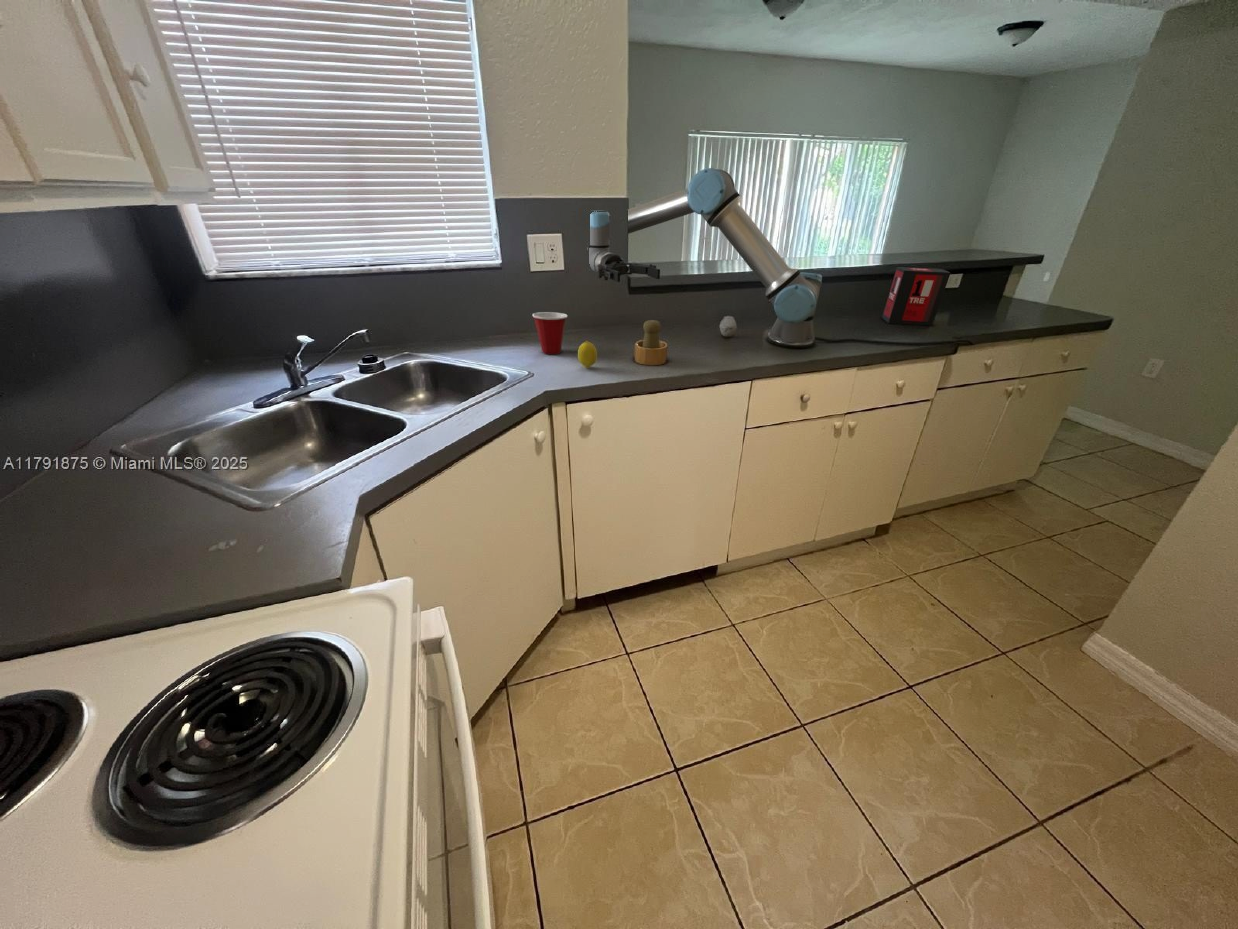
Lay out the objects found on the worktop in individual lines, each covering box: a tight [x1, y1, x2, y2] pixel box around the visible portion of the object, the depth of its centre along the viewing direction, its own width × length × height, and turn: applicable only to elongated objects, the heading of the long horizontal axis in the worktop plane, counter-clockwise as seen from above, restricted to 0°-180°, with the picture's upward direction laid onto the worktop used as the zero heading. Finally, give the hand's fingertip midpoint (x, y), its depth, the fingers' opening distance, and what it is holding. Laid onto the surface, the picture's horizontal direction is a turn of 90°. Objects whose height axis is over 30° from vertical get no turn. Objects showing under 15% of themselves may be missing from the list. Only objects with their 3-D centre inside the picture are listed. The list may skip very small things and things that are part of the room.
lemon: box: [577, 340, 598, 369], centre depth 141 cm, size 6×6×8 cm
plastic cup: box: [532, 311, 568, 355], centre depth 153 cm, size 11×11×12 cm
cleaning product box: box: [881, 266, 952, 327], centre depth 193 cm, size 16×9×20 cm, turn 80°
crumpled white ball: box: [718, 315, 738, 338], centre depth 173 cm, size 6×7×7 cm
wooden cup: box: [634, 339, 669, 366], centre depth 149 cm, size 10×10×5 cm
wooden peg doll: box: [642, 319, 662, 349], centre depth 147 cm, size 6×6×11 cm
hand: (639, 275), depth 146 cm, fingers open, 13 cm apart
